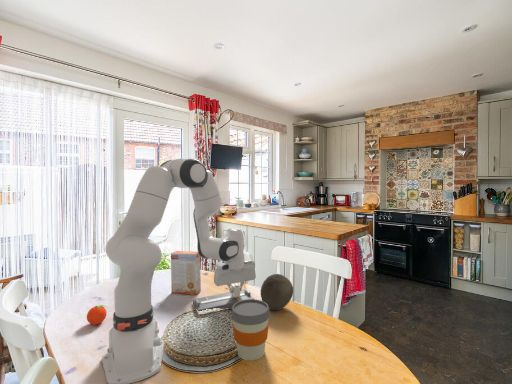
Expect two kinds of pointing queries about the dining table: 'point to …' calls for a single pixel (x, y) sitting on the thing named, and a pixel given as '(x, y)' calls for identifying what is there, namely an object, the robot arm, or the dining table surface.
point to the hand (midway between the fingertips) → (235, 291)
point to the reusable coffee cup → (250, 328)
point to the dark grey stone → (276, 291)
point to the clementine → (96, 314)
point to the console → (220, 300)
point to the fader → (235, 290)
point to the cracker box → (185, 272)
